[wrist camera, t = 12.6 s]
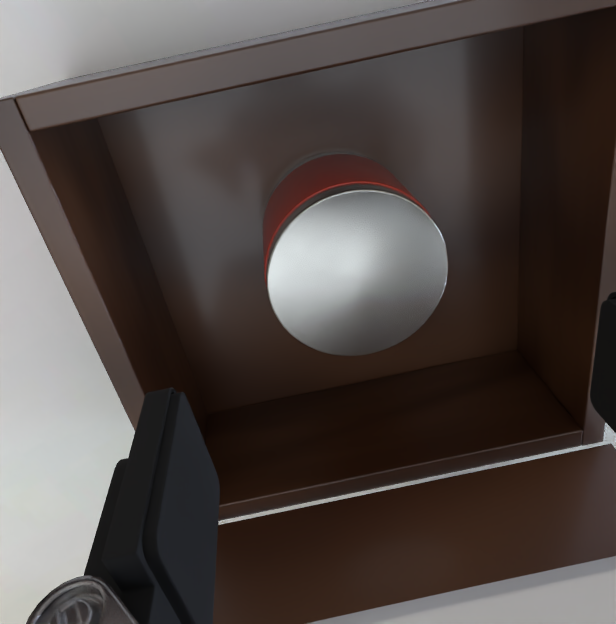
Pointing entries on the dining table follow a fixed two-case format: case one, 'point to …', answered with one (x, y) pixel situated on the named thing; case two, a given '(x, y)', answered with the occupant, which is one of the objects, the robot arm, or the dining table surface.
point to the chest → (413, 176)
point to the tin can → (350, 255)
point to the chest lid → (417, 540)
